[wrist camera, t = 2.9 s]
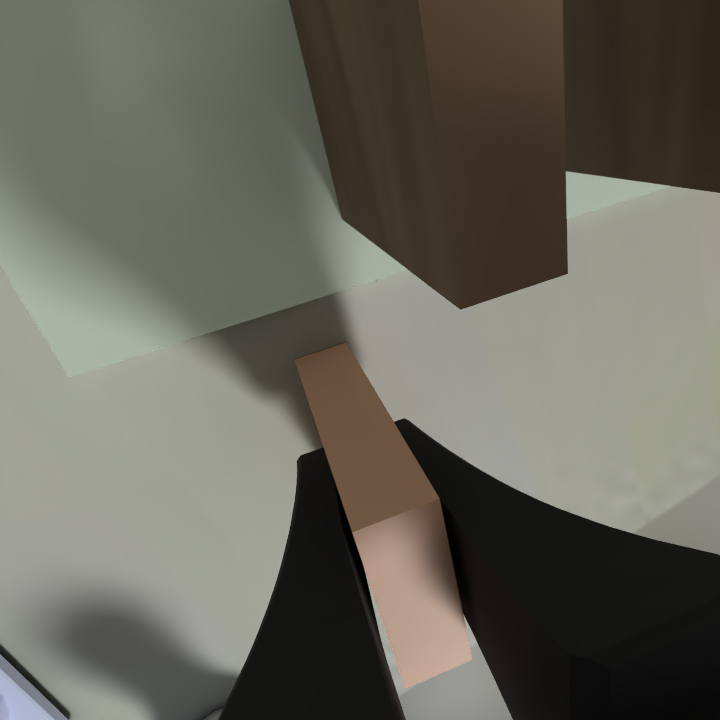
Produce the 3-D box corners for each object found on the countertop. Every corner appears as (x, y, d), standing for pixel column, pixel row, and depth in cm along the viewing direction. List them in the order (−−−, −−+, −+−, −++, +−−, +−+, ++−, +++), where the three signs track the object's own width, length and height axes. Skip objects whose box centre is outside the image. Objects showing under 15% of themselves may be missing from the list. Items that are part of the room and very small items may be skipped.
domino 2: (523, 165, 11) (783, 202, 6) (509, -75, 9) (886, -327, 4) (576, 149, 12) (872, 172, 6) (574, -90, 9) (1015, -349, 4)
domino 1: (342, 219, 11) (461, 309, 6) (282, -23, 9) (384, -239, 4) (400, 201, 11) (567, 273, 6) (356, -40, 9) (558, -269, 4)
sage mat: (72, 371, 11) (69, 377, 11) (-183, -49, 7) (-198, -56, 7) (916, 104, 14) (929, 103, 14) (1032, -289, 10) (1054, -300, 10)
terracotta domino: (336, 485, 14) (405, 689, 9) (294, 359, 12) (351, 532, 7) (380, 468, 15) (472, 659, 9) (346, 342, 13) (439, 498, 7)
